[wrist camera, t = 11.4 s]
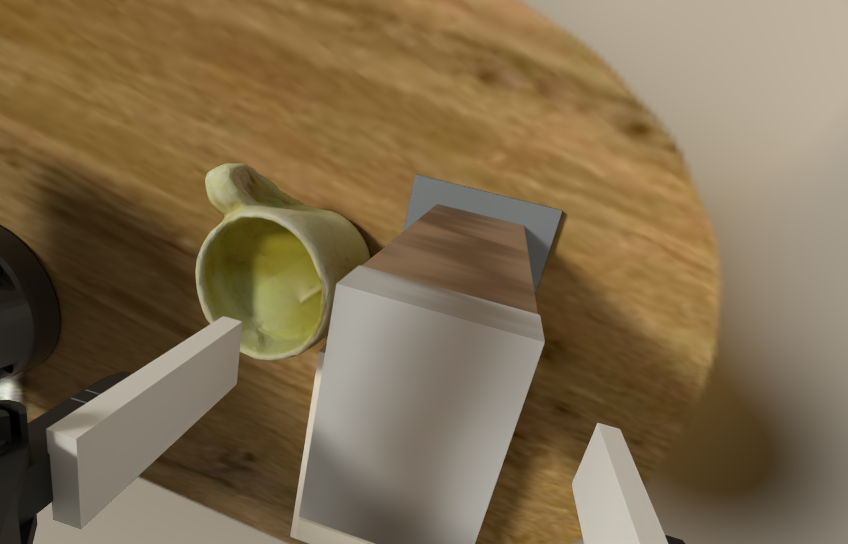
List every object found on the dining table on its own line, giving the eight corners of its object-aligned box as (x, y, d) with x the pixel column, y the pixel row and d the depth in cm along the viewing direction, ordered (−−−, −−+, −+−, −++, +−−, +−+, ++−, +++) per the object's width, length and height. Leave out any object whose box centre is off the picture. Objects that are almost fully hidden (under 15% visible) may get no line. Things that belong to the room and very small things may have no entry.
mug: (409, 328, 31) (305, 373, 22) (308, 329, 36) (193, 366, 28) (386, 156, 30) (268, 135, 22) (285, 183, 35) (160, 175, 27)
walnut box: (409, 321, 32) (298, 516, 15) (436, 202, 29) (336, 283, 13) (489, 344, 32) (464, 575, 15) (524, 225, 29) (544, 342, 12)
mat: (384, 328, 33) (382, 331, 33) (416, 174, 30) (415, 174, 29) (511, 365, 32) (511, 368, 32) (561, 210, 28) (562, 211, 28)
